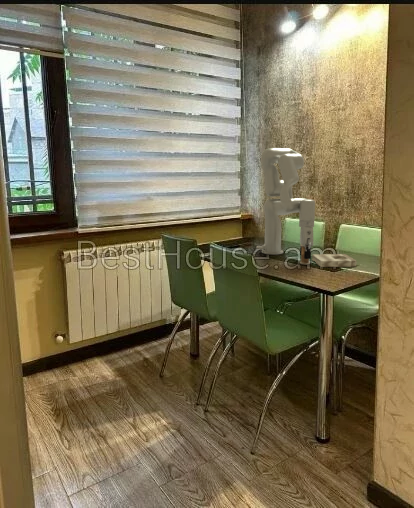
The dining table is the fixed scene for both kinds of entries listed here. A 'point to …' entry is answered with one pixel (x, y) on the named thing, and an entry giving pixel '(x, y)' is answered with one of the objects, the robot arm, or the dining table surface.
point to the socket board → (334, 260)
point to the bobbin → (303, 261)
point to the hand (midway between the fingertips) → (305, 256)
